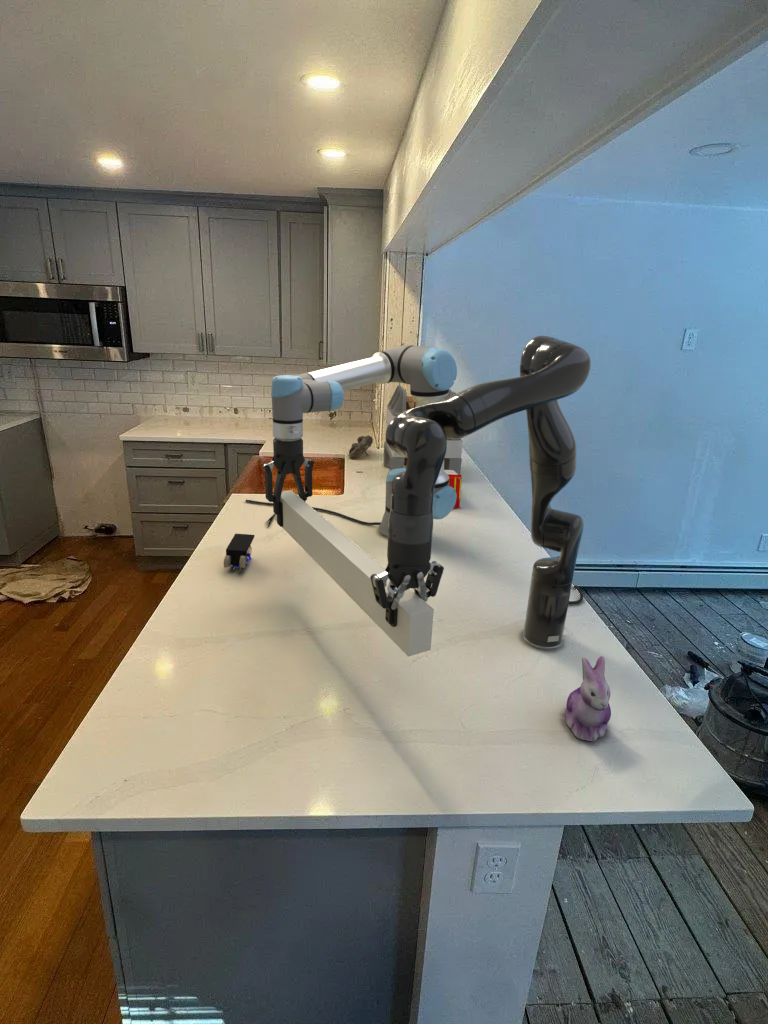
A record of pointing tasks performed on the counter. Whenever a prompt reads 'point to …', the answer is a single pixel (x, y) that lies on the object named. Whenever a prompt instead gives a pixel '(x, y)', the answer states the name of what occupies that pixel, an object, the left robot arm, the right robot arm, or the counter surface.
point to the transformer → (395, 461)
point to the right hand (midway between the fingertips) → (405, 620)
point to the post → (356, 574)
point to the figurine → (590, 703)
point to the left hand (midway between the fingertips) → (289, 523)
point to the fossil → (360, 446)
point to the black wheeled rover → (238, 551)
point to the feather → (270, 519)
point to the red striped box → (455, 485)
